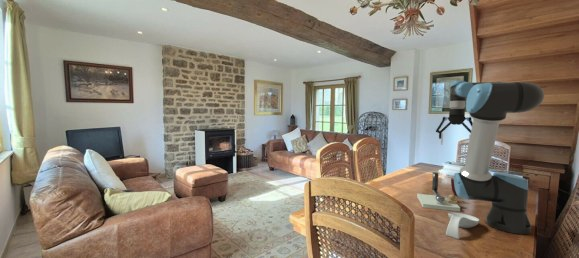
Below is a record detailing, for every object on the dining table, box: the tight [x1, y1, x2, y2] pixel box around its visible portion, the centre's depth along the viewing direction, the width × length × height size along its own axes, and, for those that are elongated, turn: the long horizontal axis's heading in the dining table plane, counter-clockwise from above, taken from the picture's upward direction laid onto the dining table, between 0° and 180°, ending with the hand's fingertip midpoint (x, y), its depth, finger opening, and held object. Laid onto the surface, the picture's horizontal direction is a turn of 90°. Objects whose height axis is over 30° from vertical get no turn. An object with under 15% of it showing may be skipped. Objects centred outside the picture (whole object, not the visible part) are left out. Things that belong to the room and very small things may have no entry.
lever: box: [431, 171, 445, 201], centre depth 140 cm, size 16×4×12 cm, turn 161°
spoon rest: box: [445, 212, 481, 240], centre depth 110 cm, size 24×12×7 cm, turn 135°
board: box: [416, 193, 461, 213], centre depth 140 cm, size 18×17×6 cm
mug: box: [450, 177, 458, 197], centre depth 154 cm, size 11×8×10 cm
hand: (455, 145), depth 146 cm, fingers open, 13 cm apart
